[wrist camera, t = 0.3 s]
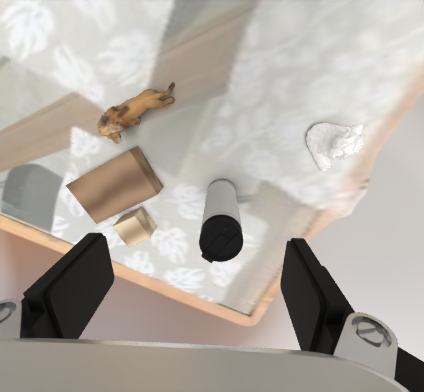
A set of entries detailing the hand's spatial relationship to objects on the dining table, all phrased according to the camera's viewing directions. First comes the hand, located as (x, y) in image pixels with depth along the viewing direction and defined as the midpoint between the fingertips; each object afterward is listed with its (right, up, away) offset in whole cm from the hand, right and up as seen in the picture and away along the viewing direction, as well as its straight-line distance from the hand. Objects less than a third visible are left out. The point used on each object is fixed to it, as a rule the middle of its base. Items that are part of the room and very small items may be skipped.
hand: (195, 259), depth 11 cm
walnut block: (-19, +6, +37) cm, 43 cm away
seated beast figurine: (+23, +14, +32) cm, 42 cm away
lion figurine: (-12, +20, +31) cm, 39 cm away
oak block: (-17, -3, +41) cm, 44 cm away
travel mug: (+3, +4, +37) cm, 37 cm away
